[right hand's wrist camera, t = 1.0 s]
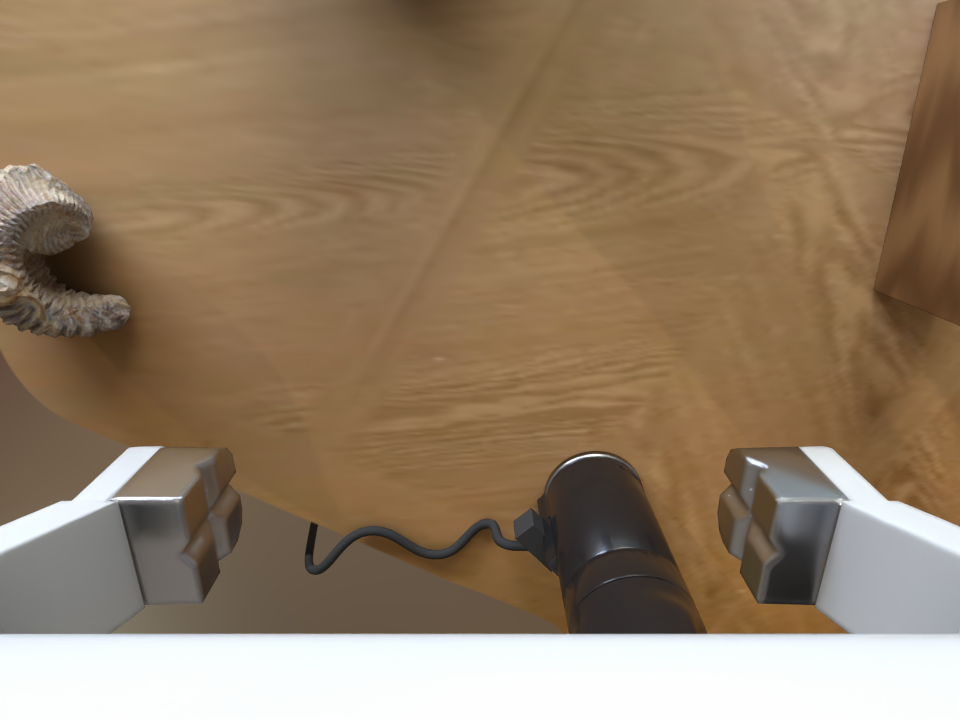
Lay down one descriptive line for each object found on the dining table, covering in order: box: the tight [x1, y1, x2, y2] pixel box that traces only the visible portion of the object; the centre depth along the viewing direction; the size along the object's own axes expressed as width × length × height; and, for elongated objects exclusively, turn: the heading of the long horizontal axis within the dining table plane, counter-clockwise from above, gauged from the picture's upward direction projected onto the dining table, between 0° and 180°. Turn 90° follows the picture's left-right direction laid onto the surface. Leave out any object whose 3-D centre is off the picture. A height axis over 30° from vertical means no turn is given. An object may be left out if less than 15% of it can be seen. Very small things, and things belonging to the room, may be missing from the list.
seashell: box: [0, 164, 132, 338], centre depth 48 cm, size 14×10×10 cm
